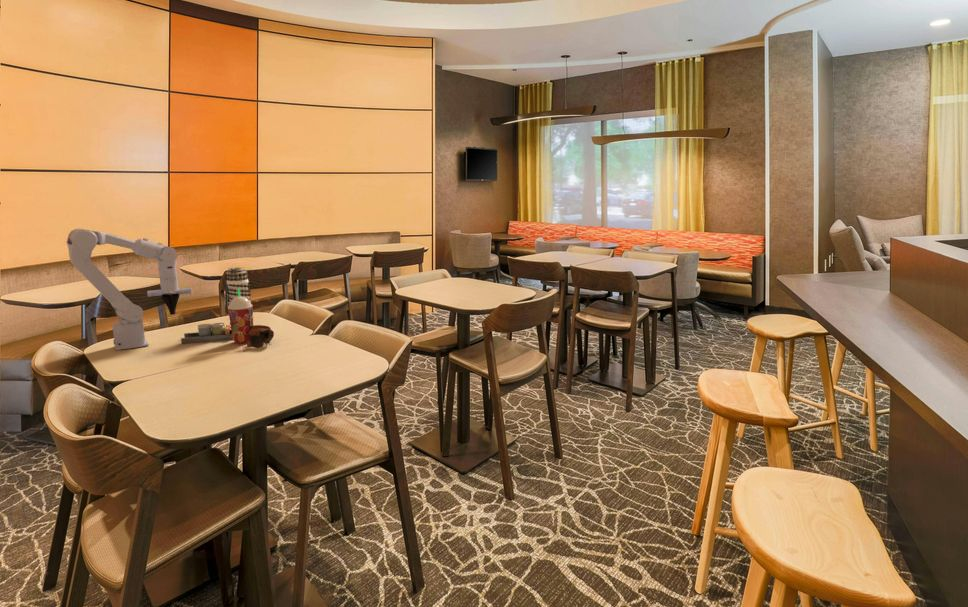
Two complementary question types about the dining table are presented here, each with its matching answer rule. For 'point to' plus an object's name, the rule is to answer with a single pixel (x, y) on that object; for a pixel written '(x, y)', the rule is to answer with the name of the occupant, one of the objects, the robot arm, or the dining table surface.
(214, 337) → the lane
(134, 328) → the robot arm
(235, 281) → the black white checkered cylinder
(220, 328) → the jar
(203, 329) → the jar
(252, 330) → the pottery mug
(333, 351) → the dining table surface
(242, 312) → the smoothie
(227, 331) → the block
